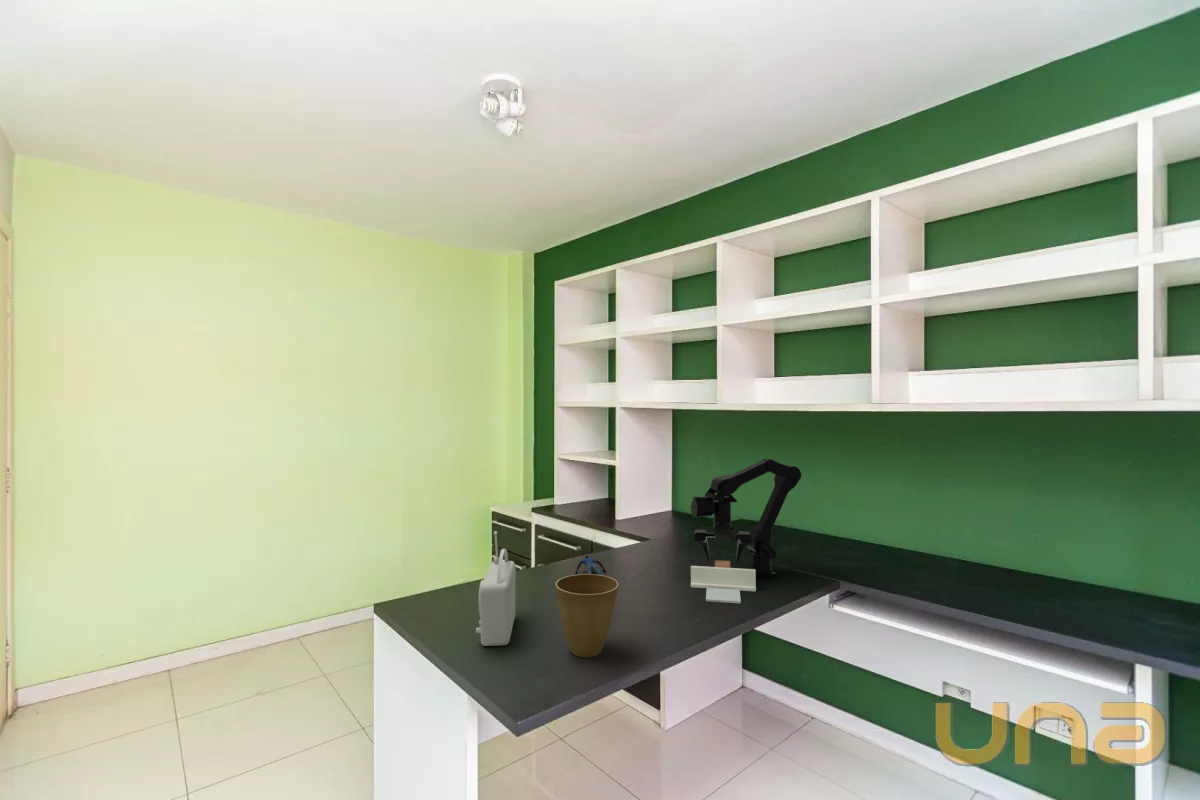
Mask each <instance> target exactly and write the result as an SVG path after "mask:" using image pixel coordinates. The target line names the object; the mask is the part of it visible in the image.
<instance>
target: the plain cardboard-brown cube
mask: <svg viewBox="0 0 1200 800" xmlns="http://www.w3.org/2000/svg"><path fill="white" fill-rule="evenodd" d="M714 567H721V568H731V561H730V560H720V559H719V560H714Z"/></svg>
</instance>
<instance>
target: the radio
mask: <svg viewBox="0 0 1200 800" xmlns="http://www.w3.org/2000/svg"><path fill="white" fill-rule="evenodd" d="M493 536H494V548H495V549H494V550H495V557H493V561H492V562H491V563H490V564H489V567H488V570H487V572H486V574H485V576H484V578H483V579H481V581H480V584H479V588H478V589H479V591H478V604H477V605H478V609H477V610H478V614H479V616H480V620H478V626H479V627H476V629H475V633H476V634H480V644H481V645H482V646H484V647H492V646H493V647H494V646H497V647H498V646H499V647H501V646H507V645H508V644H509V643H510V640H511V635H512V632H513V626H514V622H515V618H516V569H517V568H516V563H515V562H514V561H513V560H509V555H508V551H507V549H506V548H502V549H500V553H499V551H498V531H496V530H495V531H493Z"/></svg>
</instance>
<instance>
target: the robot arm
mask: <svg viewBox="0 0 1200 800" xmlns="http://www.w3.org/2000/svg"><path fill="white" fill-rule="evenodd" d="M767 473H771V474H773V475H774V486H773V487H774V488H773V489H772V491H771V494H770V495H769V496H770V497H769V499H768V501H767V502H766V505H765V507H764V509H763V512H762V514H761V516H760V518H759V520H758V523H757V524H756V525H755V526H754V527H753V526H752V525H749V527H748V530H747V531H746V530H745V531H742V530H739V531H738V533H737V527H734V526H732V503H737V502H738V499H736V498H735V497H734V496H733V494H734V493H735V492H736V491H737V490H739V488H740V487H741V486H742V485H745V484H747V483H748V482H750V481H753V480H755V479H757V478H759V477H761V476H763V475H765V474H767ZM801 478H802V472H801V470H800V468H799V467H797V466H794V465H790V464H783V463H780V462H778V461H777V460H774V459H773V458H772V459H771V458H763V459H761V460H759V461H758V462H755V463H753V464H751V465H749V466H747V467H744V468H743V469H741V470H739V471H737V472H734V473H730V474H724V475H721V476H717V477H715V478H713V479H712V480H711V484H710V487H709V489H707V491H706V492H705V493H704V496H699V495H698V496H697V495H695V496H693V497H692V501H691V504H690V512H691V515H692V517H693V518H702V517H703V518H705V517H706V518H707V517H711V516H712V515H713V532H707V529H694V532H693V533H694V534H693V541H694V542H697V544H699V545H701V546H702V548H703V550H704V553H705V556H706V560H707V562H710V551H709V549H710V548H709V542H708V539H709V540H715V541H714V542H715V543H718V544H721V543H725V544H730V543H731V541H732V540H734V541H737V546H736V556H735V558H736V561H735V562H736V564H738V563H739V560H740V557H741V553H742V552H743V550H744V548H745V547H747V549H749V552H750V554H752V562H751V564H752V565H751V566H752V567H751V569H755V571H756V576H758V577H761V578H767V577H771V576H775V575H777V572H774V571H773V560H775V559H776V558H777V554H778V553H777V551H776V550H775V549H774V548H773V547H772V546H771V543H772V539H773V538H772V530H773V527H774V526H775V523H776V521H777V519H778V516H779V514H780V512H781V511H782V507H783V505H784V502H785V501H786V498H787V496H788V494H789V492H791V491H792V490H793V489H795V488H796V486H797V485H798V483H799V482H800V481H801Z"/></svg>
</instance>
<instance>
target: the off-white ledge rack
mask: <svg viewBox="0 0 1200 800" xmlns="http://www.w3.org/2000/svg"><path fill="white" fill-rule="evenodd" d="M756 576H757V575H756V571H755V569H752V568H738V567H737V568H735V567H730V568H721V567H715V566H703V565H702V566H700V565H690V588H698V589H707V588H716V589H731V590H740V591H745V592H757V587H756V583H757V582H756V580H757V579H756V578H757V577H756Z"/></svg>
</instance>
